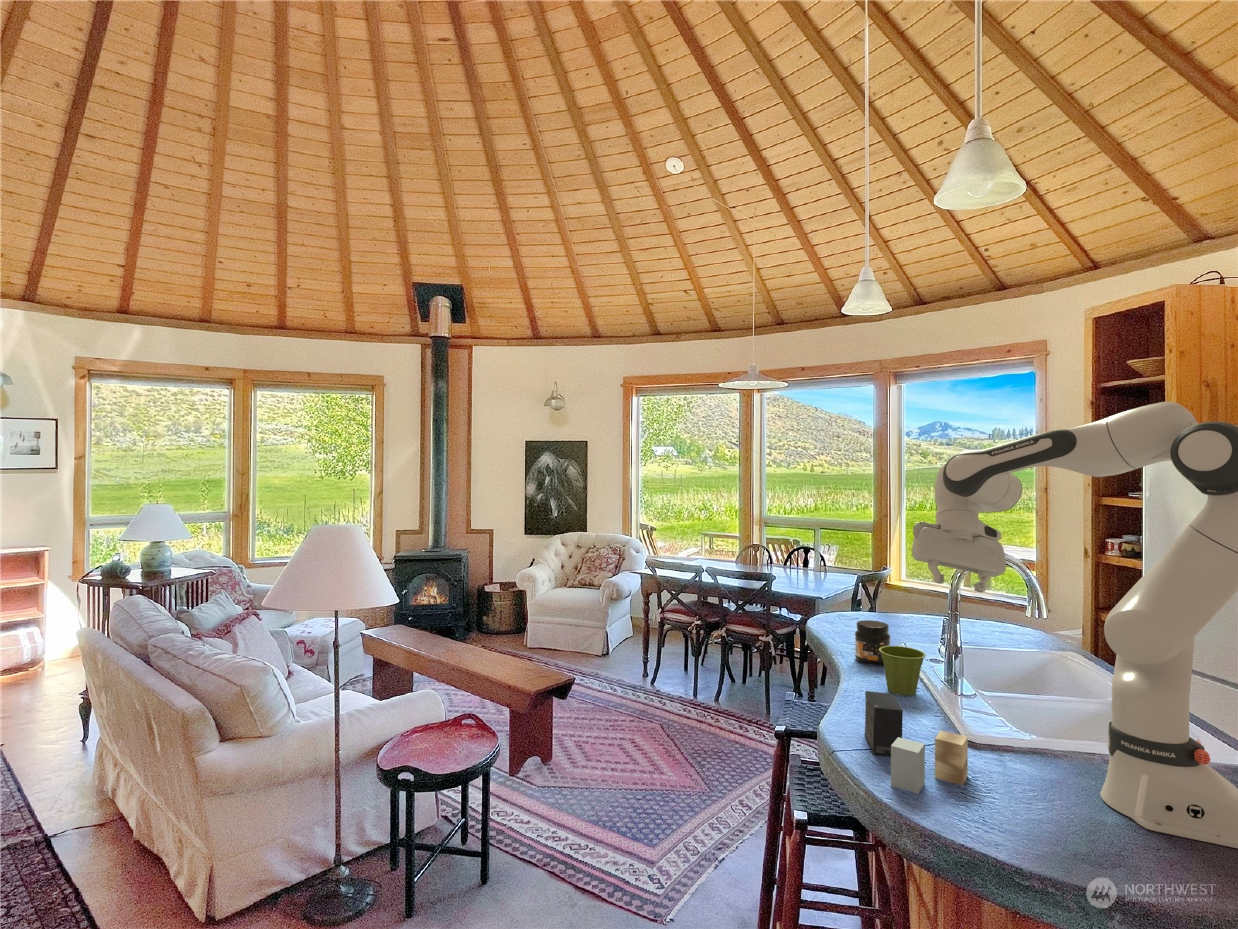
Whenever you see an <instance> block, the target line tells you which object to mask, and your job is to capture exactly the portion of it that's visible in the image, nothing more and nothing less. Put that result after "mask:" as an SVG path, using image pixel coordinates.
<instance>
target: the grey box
mask: <svg viewBox="0 0 1238 929" xmlns="http://www.w3.org/2000/svg"><path fill="white" fill-rule="evenodd" d="M925 749H926V744H925V743H923V742H919V741H915V740H911V739H907V738H903V737H902V738H900V737H898V738H897V739H896V740H895V741H894V743H893V744H892V745H891V756H890V787H893V788H895V787H897V788H896V789H899V788H900V789H899V790H902V789H904V790H903V791H905V790H908V791H911V792H910V793H912V792H914V793H913V794H915V793H916V794H915V795H919V794H920V792H921V791H920V790H922V789H923V788H922V787H924V785H925V784H926V782H925V780H926V779H925V776H926V774H925V770H926V769H925V768H926V767H925V766H926V763H925V760H926V757H925V756H926V755H925V754H926V753H925V752H926V750H925ZM908 791H907V792H908Z"/></svg>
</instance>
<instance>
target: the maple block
mask: <svg viewBox="0 0 1238 929" xmlns="http://www.w3.org/2000/svg"><path fill="white" fill-rule="evenodd" d="M968 738H969V737H968V736H966V735H962V734H958V733H954V732H949V731H944V730H940V731H939V732H938V733H937V735H936V736H935V737H934V778H935V779H938V780H941V781H944V782H948V783H951V784H955V785H959V786H961V787H962V786H963V785H964V784H965V782H966V780H967V778H968V771H969V770H968V769H969V768H968V765H969V763H968V759H969V758H968V756H969V755H968V751H969V750H968V749H969V748H968V747H969V746H968V743H969V741H968V740H969V739H968Z"/></svg>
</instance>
